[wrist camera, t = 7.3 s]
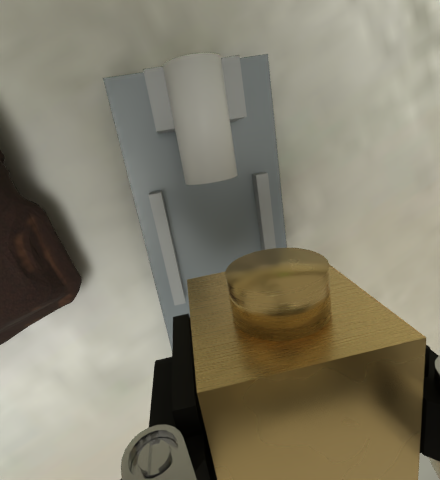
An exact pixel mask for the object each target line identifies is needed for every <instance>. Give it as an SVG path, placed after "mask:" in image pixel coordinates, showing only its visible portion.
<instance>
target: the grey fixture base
mask: <svg viewBox="0 0 440 480" xmlns="http://www.w3.org/2000/svg"><path fill="white" fill-rule="evenodd" d="M103 80H104V84H105V88H106V92H107V96H108V100H109V103H110V107H111V111H112V115H113V119H114V123H115V127H116V131H117V135H118V139H119V143H120V147H121V151H122V155H123V159H124V163H125V167H126V171H127V175H128V178H129V182H130V186H131V190H132V194H133V198H134V202H135V206H136V210H137V214H138V218H139V222H140V226H141V230H142V234H143V238H144V242H145V246H146V249H147V253H148V257H149V261H150V265H151V269H152V273H153V277H154V281H155V285H156V289H157V293H158V297H159V301H160V305H161V309H162V313H163V317H164V321H165V324H166V328H167V332H168V336H169V340H170V344H171V348H172V350H173V317H174V316H179V315H183V314H188V313H189V317H190V309H189V298H188V287H187V279H192V278H197V277H201V276H206V275H211V274H216V273H221V272H225V271H226V269H227V267H228V266H229V265H230V264H231V263H232V262H233V261H235V260H236V259H238V258H240V257H242V256H244V255H247V254H250V253H253V252H256V251H261V250H266V249H273V248H287V246H286V235H285V225H284V215H283V205H282V195H281V184H280V174H279V164H278V154H277V143H276V133H275V123H274V113H273V103H272V92H271V82H270V72H269V62H268V54H264V55H258V56H251V57H244V58H240V57H239V55H237V56H230V57H223V58H221V56H220V55H219V54H217V53H194V54H188V55H184V56H180V57H176V58H173V59H171V60H169V61H167V62H165V63H164V64H163V66H161V67H154V68H148V69H143V72H142V73H135V74H128V75H122V76H115V77H108V78H103Z"/></svg>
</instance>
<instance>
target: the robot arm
mask: <svg viewBox="0 0 440 480" xmlns="http://www.w3.org/2000/svg"><path fill="white" fill-rule="evenodd" d="M420 453H422V454H423V455H425V456H427V457H429V459H430V461H431V464H432V466H433V468H434V470H435V471H436V473H437V475H438V477H439V479H440V356H438V355H437V354H436V353H434V352H433V351H432V350H431V349H430V347H428V346H427V345H426V348H425V366H424V383H423V401H422V419H421V436H420ZM121 475H122V478H121V480H217V476H216V472H215V468H214V463H213V459H212V455H211V450H210V446H209V442H208V438H207V433H206V429H205V425H204V421H203V416H202V412H201V408H200V403H199V399H198V395H197V387H196V376H195V365H194V354H193V342H192V331H191V320H190V317H189V313H188V314H183V315H179V316H174V317H173V350H172V357H169V358H165V359H161V360H156V362H155V367H154V378H153V389H152V399H151V410H150V421H149V428H147V429H145V430H144V431H142V432H140V433H139V434H138V435H137V436H136V437H135V438H134V439H132V441H131V442H130V443H129V445H128V446H127V448H126V449H125V452H124V454H123V457H122V462H121Z"/></svg>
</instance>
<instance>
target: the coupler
mask: <svg viewBox="0 0 440 480" xmlns="http://www.w3.org/2000/svg"><path fill="white" fill-rule="evenodd" d="M187 287H188V298H189V309H190V320H191V331H192V342H193V354H194V365H195V376H196V387H197V395H198V399H199V403H200V408H201V412H202V416H203V421H204V425H205V429H206V433H207V438H208V442H209V446H210V450H211V455H212V459H213V463H214V468H215V472H216V476H217V480H418V471H419V453H420V436H421V419H422V401H423V383H424V366H425V348H426V337H425V336H423V335H422V334H421V333H419V332H418V331H417V330H415V329H414V328H413V327H411V326H410V325H409V324H408V323H406V322H405V321H404V320H402V319H401V318H400V317H398V316H397V315H396V314H394V313H393V312H392V311H390V310H389V309H388V308H386V307H385V306H384V305H382V304H381V303H380V302H378V301H377V300H376V299H374V298H373V297H372V296H370V295H369V294H368V293H366V292H365V291H364V290H362V289H361V288H360V287H358V286H357V285H356V284H354V283H353V282H352V281H351V280H349V279H348V278H347V277H345V276H344V275H343V274H341V273H340V272H339V271H337V270H336V269H335V268H333V267H332V266H331V265H329V263H328V261H327V259H326V258H325V257H324V256H322V255H320V254H318V253H316V252H313V251H310V250H306V249H299V248H273V249H266V250H261V251H256V252H253V253H250V254H247V255H244V256H242V257H240V258H238V259H236V260H235V261H233V262H232V263H231V264H230V265H229V266H228V267H227V269H226V271H225V272H221V273H216V274H211V275H206V276H201V277H197V278H192V279H187Z"/></svg>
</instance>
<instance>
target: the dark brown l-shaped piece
mask: <svg viewBox="0 0 440 480" xmlns="http://www.w3.org/2000/svg"><path fill="white" fill-rule="evenodd" d="M4 160H5V159H4V155H3V154H2V152H1V150H0V345H1V344H3V343H4V342H6V341H8V340H9V339H11V338H12V337H13V336H15V335H16V334H18V333H19V332H21V331H22V330H24V329H25V328H27V327H28V326H30V325H31V324H33V323H35V322H36V321H38V320H40V319H42V318H43V317H45V316H47V315H48V314H50V313H52V312H54V311H55V310H57V309H59V308H61V307H63V306H65V305H67V304H69V303H71V302H72V301H73V300H74V298H75V297H76V295H77V293H78V291H79V288H80V285H81V281H82V280H81V276H80V275H79V273H78V271H77V269H76V268H75V266H74V264H73V263H72V261H71V259H70V257H69V256H68V254H67V252H66V250H65V248H64V247H63V245H62V243H61V241H60V240H59V238H58V236H57V234H56V233H55V231H54V229H53V227H52V225H51V223H50V221H49V219H48V217H47V215H46V213H45V212H44V211H43V209H42V208H41V207H40V206H39V205H37V204H35V203H33V202H31V201H29V200H27V199H25V198H24V197H22V196H21V195H20V193H19V192H18V190H17V189H16V188H15V186H14V184H13V182H12V180H11V178H10V177H9V170H8V169H7V168H6V167H5V166H4V165H3V162H4Z"/></svg>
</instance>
